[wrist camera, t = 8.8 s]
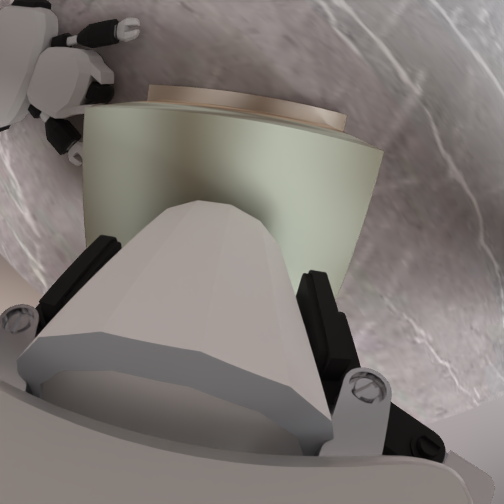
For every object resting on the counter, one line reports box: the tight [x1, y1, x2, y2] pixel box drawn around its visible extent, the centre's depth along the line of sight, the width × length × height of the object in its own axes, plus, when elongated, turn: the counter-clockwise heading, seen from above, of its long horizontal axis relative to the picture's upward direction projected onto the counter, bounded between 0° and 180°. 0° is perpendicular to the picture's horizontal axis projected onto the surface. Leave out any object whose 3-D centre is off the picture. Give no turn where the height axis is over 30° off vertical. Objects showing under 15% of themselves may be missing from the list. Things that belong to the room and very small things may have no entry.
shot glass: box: [17, 200, 334, 456], centre depth 8 cm, size 7×7×7 cm
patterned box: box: [82, 85, 384, 301], centre depth 17 cm, size 13×13×11 cm
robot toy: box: [0, 0, 140, 166], centre depth 15 cm, size 12×4×15 cm
